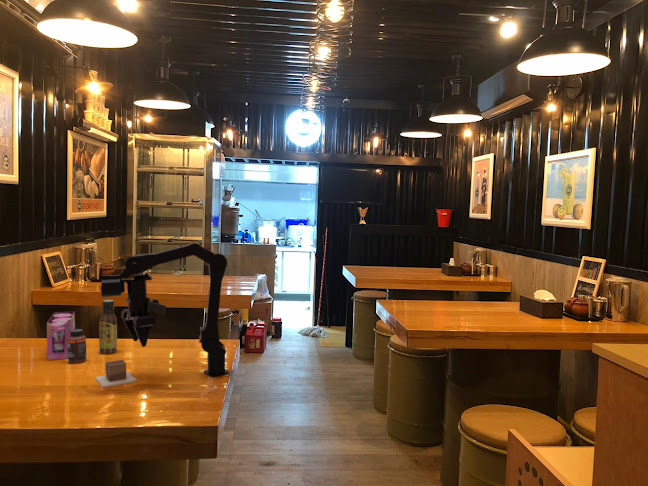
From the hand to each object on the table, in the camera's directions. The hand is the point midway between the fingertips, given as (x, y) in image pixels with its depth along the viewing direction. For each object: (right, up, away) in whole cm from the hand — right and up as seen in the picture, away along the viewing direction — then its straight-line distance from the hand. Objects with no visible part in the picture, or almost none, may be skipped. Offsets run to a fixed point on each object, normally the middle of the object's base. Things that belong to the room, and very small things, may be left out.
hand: (139, 343), depth 165 cm
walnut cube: (-7, -11, -1) cm, 13 cm away
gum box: (-41, -10, +34) cm, 54 cm away
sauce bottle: (-23, -10, +33) cm, 42 cm away
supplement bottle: (-29, -11, +20) cm, 37 cm away
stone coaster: (-7, -11, -1) cm, 13 cm away
